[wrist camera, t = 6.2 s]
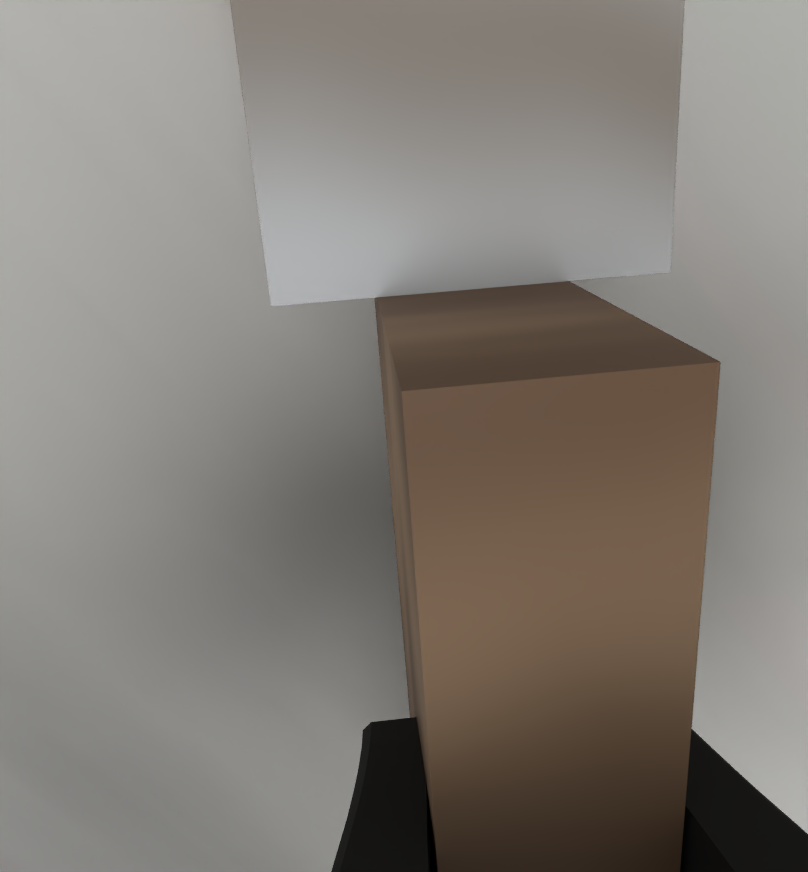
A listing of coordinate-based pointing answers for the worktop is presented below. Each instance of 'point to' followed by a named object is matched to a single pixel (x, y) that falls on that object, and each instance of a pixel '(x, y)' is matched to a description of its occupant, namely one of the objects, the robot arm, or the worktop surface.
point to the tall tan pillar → (511, 390)
